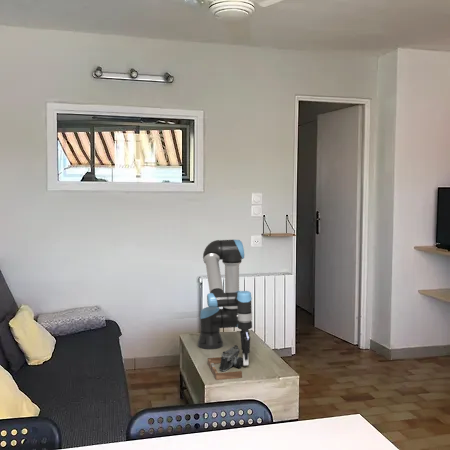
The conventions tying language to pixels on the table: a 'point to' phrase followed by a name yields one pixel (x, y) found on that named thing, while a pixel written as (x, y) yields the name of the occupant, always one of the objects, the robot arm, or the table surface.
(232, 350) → the camera
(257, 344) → the table surface
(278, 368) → the table surface
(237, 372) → the dock
